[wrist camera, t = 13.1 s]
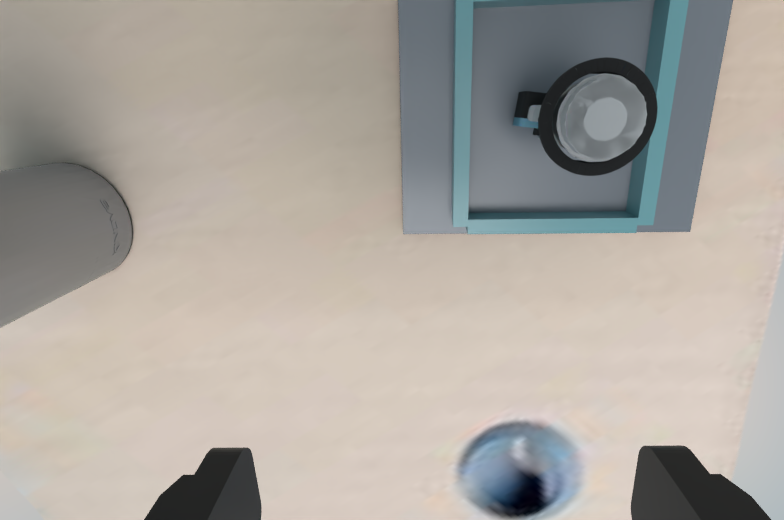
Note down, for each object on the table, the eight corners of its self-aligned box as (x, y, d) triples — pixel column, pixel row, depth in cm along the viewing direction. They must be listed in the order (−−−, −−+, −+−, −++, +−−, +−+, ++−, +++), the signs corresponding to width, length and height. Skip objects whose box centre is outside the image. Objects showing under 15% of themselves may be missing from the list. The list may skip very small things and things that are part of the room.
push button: (622, 79, 29) (716, 65, 19) (600, 163, 30) (677, 189, 21) (517, 67, 29) (559, 48, 20) (501, 152, 31) (533, 171, 21)
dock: (404, 230, 34) (401, 241, 31) (398, -11, 29) (395, -24, 26) (682, 228, 32) (706, 239, 30) (728, -29, 27) (763, -45, 24)
